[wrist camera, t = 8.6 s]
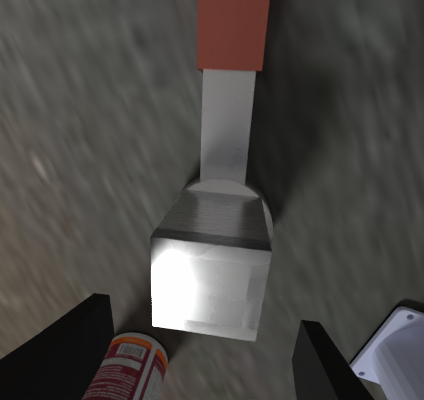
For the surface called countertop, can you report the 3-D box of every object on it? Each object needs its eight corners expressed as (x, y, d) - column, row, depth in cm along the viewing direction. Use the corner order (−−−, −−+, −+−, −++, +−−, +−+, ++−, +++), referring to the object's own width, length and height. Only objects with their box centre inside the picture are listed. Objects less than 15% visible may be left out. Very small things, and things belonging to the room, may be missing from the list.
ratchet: (263, 262, 19) (269, 308, 15) (175, 253, 20) (156, 294, 16) (310, -58, 12) (346, -147, 8) (172, -57, 13) (136, -138, 9)
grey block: (261, 197, 15) (272, 251, 9) (251, 263, 17) (255, 341, 11) (183, 189, 15) (150, 237, 10) (182, 254, 17) (152, 325, 12)
